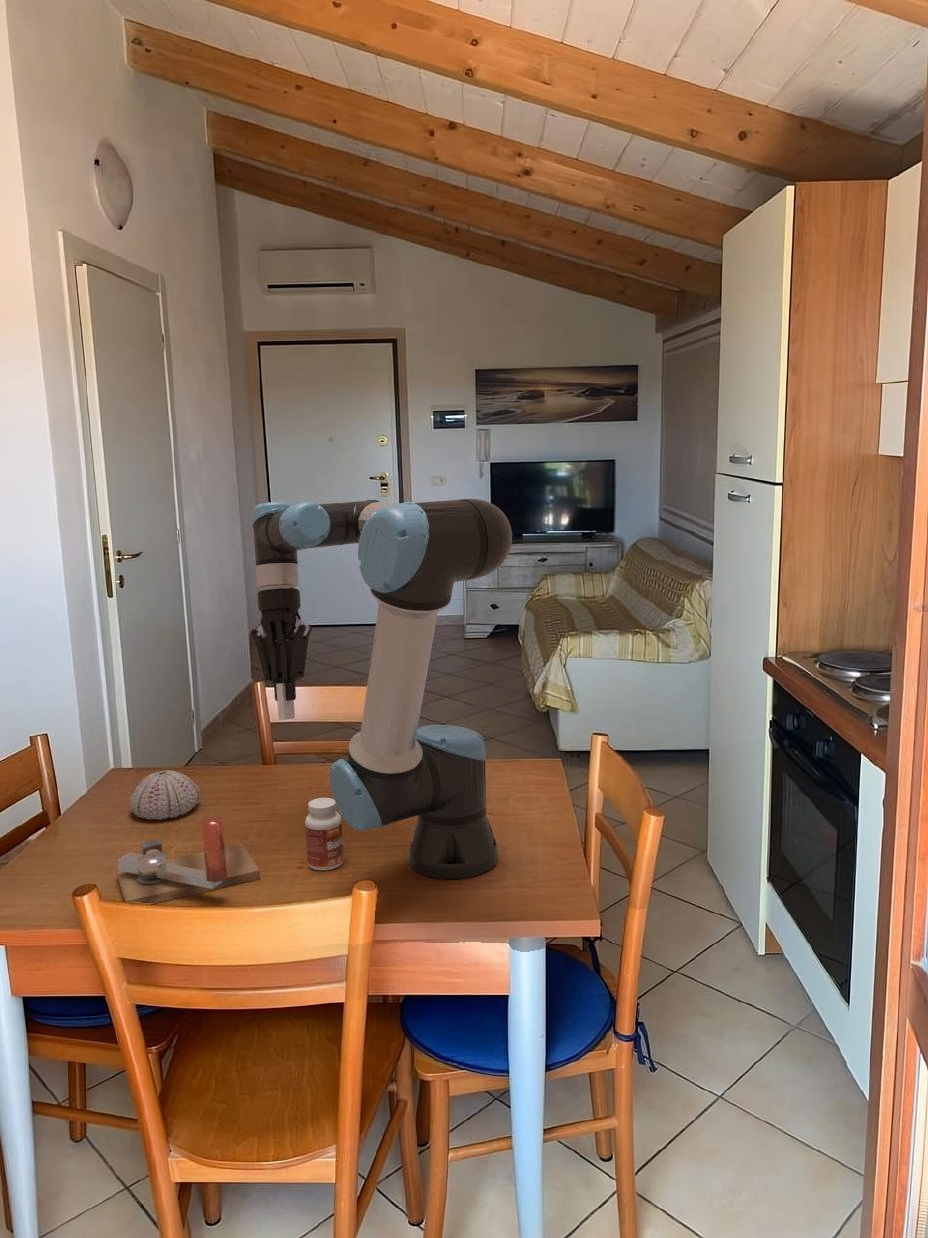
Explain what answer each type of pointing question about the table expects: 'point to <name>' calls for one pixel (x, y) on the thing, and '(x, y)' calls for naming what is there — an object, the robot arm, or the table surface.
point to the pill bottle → (324, 835)
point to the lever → (158, 868)
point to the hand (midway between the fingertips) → (286, 719)
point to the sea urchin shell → (164, 795)
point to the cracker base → (164, 890)
